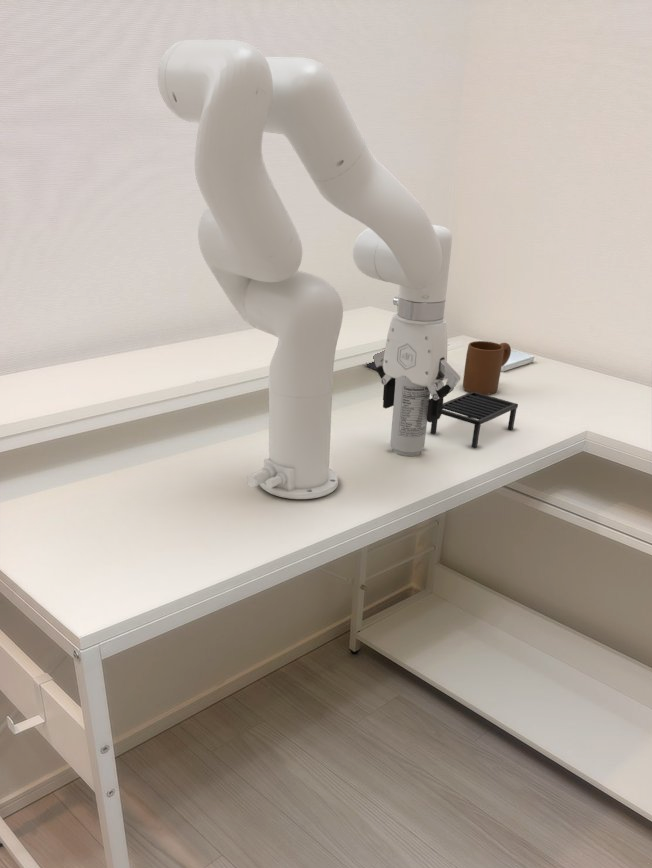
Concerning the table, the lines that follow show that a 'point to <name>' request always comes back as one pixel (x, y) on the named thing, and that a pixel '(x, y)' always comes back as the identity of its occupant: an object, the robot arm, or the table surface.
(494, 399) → the rack
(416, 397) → the energy drink can
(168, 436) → the table surface
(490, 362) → the mug
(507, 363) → the hard drive
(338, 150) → the robot arm
